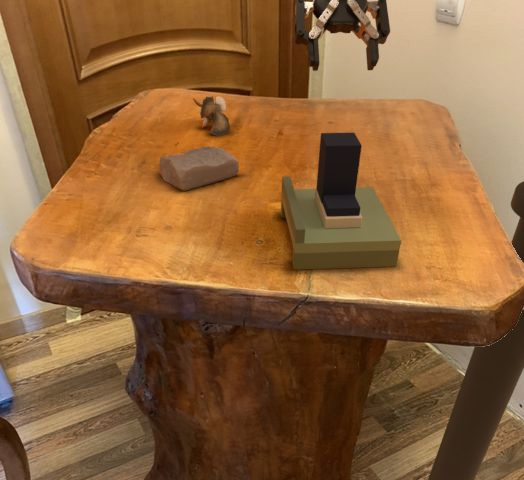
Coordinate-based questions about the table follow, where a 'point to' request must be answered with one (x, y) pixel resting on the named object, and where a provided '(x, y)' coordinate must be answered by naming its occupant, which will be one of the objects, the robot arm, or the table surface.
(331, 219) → the high-top shoe
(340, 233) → the green flanged plate
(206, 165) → the stone block
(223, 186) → the table surface
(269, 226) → the table surface
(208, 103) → the brown animal figurine
